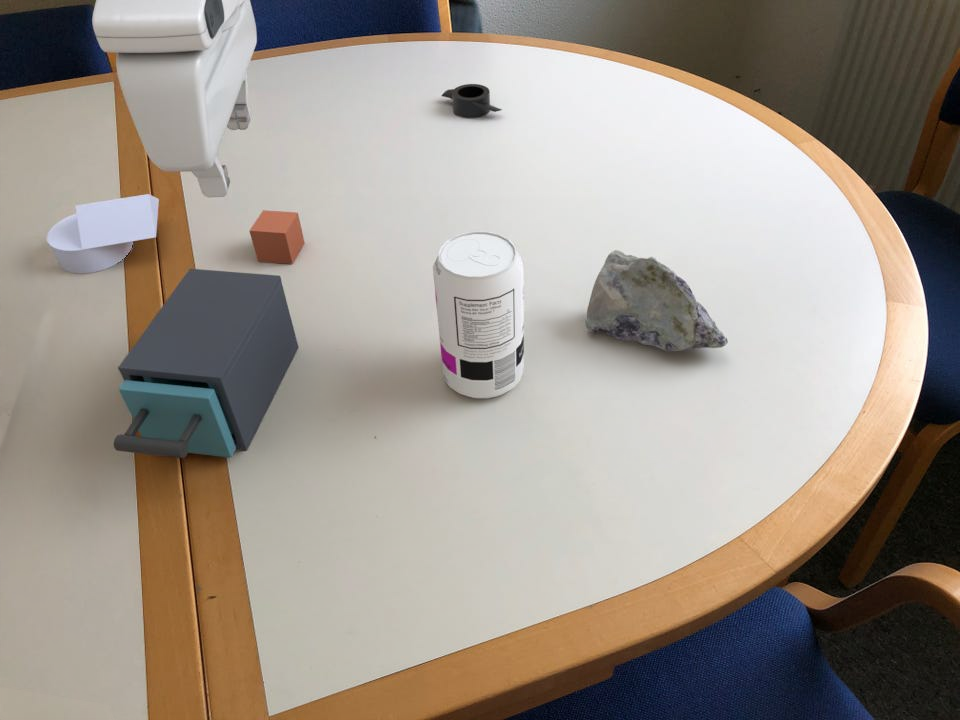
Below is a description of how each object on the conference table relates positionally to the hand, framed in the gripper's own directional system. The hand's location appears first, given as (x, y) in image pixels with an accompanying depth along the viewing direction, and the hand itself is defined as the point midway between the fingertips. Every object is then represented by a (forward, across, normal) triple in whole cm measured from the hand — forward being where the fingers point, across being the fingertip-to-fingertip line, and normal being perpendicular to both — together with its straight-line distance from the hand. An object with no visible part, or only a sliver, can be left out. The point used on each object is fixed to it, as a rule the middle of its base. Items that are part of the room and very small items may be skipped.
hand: (229, 156), depth 61 cm
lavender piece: (+29, -26, -26) cm, 47 cm away
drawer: (+26, +4, -7) cm, 27 cm away
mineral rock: (+26, -4, +37) cm, 46 cm away
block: (+28, -24, -4) cm, 37 cm away
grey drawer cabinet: (+27, 0, -6) cm, 27 cm away
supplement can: (+26, 0, +20) cm, 33 cm away
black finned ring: (+30, -60, +20) cm, 70 cm away
